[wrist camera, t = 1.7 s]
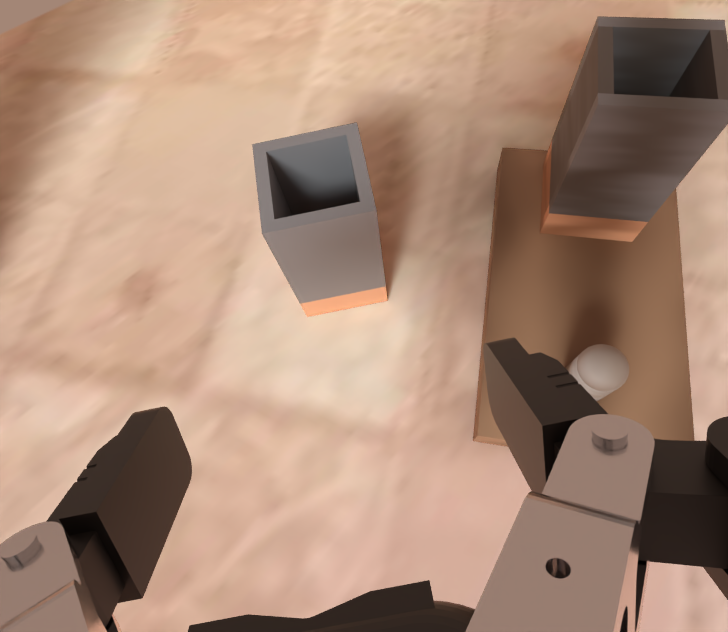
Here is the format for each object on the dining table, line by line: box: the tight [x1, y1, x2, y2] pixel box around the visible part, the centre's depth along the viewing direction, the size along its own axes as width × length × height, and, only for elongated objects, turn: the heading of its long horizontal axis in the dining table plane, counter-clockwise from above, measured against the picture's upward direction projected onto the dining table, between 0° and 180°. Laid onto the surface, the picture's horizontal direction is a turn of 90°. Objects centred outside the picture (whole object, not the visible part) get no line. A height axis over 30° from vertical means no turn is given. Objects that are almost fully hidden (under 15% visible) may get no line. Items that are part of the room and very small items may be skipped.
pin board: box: [473, 17, 728, 447], centre depth 23 cm, size 10×18×12 cm, turn 170°
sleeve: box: [252, 123, 388, 317], centre depth 26 cm, size 5×5×10 cm
